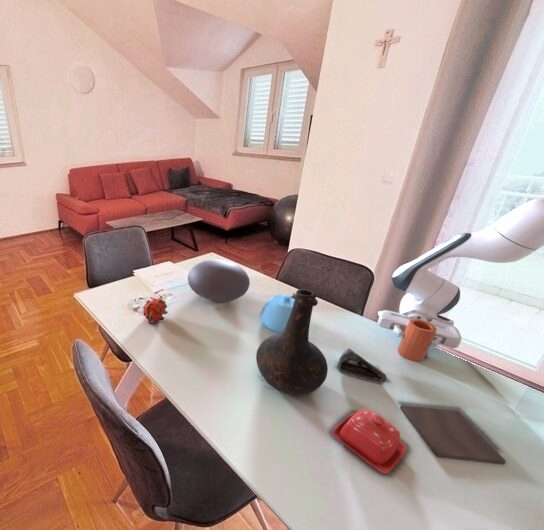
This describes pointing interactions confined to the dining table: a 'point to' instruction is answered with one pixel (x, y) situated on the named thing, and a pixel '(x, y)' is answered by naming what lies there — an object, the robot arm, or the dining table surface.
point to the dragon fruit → (154, 309)
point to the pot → (416, 339)
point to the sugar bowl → (277, 312)
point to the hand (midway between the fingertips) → (417, 340)
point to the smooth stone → (218, 280)
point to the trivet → (451, 434)
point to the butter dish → (371, 439)
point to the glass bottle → (293, 352)
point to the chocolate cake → (359, 367)
